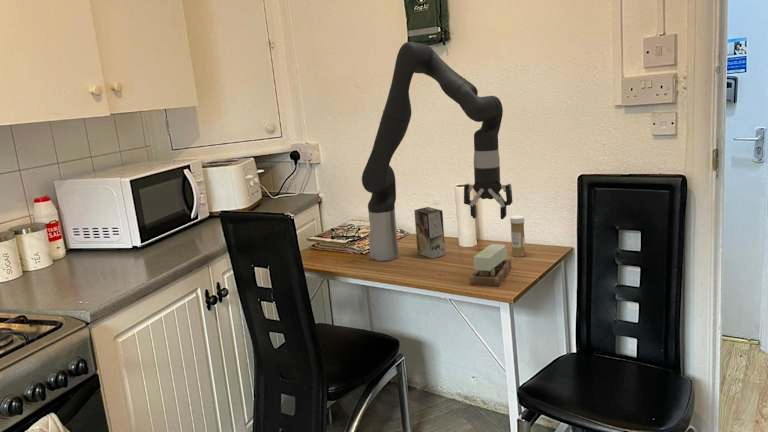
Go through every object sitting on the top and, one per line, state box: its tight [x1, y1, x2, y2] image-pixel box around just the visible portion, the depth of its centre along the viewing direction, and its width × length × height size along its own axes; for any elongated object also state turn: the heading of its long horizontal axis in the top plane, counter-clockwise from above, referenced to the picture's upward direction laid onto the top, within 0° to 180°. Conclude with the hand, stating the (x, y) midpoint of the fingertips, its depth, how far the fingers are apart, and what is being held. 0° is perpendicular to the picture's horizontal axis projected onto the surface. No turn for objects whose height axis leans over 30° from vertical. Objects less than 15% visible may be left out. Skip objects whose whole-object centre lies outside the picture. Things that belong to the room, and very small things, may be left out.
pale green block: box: [473, 243, 508, 272], centre depth 190 cm, size 14×5×4 cm, turn 148°
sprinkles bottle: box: [509, 214, 526, 258], centre depth 207 cm, size 5×5×14 cm
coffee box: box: [414, 206, 446, 259], centre depth 216 cm, size 9×6×16 cm
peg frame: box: [469, 259, 512, 288], centre depth 191 cm, size 18×9×4 cm, turn 157°
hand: (488, 218), depth 187 cm, fingers open, 8 cm apart
